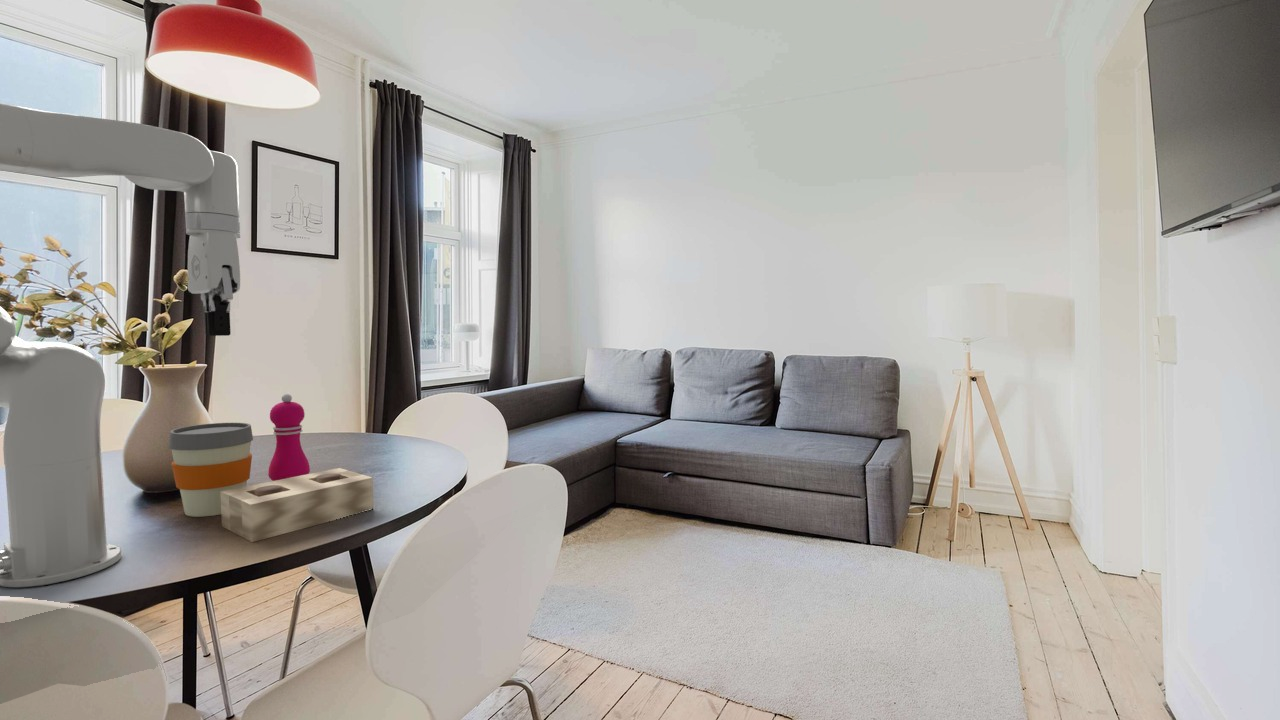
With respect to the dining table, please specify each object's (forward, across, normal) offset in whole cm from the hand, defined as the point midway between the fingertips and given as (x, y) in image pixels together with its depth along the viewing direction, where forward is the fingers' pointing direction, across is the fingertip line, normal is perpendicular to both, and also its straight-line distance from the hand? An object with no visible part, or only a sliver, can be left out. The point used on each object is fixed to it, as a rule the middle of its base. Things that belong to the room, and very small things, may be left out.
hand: (218, 335), depth 102 cm
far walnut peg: (+32, +10, +13) cm, 36 cm away
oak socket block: (+32, +10, +8) cm, 35 cm away
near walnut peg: (+32, +10, +3) cm, 33 cm away
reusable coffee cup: (+32, -8, +1) cm, 33 cm away
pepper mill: (+32, -8, +14) cm, 36 cm away
